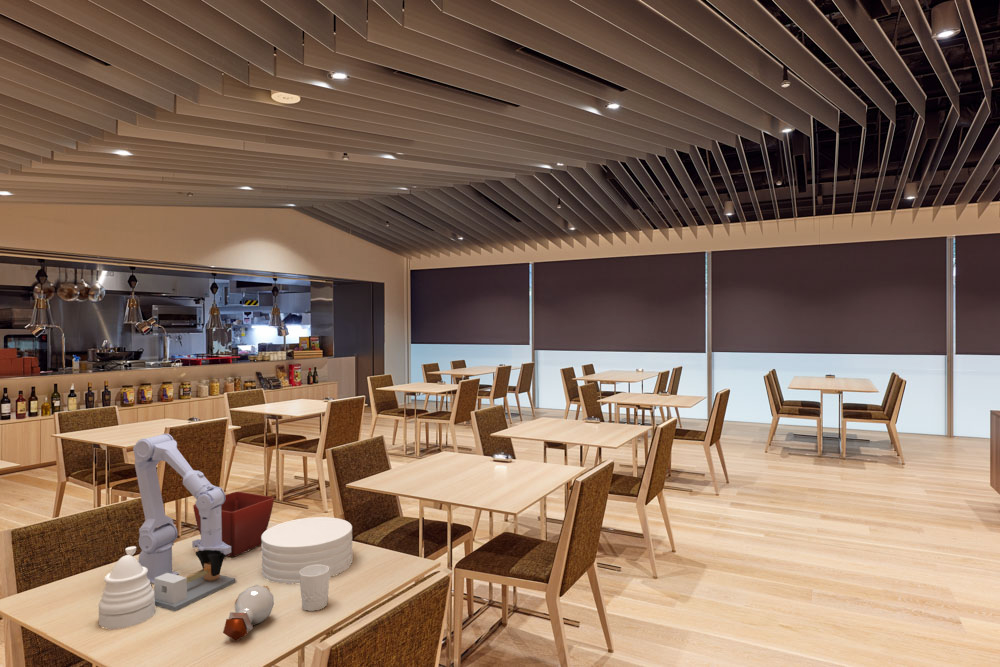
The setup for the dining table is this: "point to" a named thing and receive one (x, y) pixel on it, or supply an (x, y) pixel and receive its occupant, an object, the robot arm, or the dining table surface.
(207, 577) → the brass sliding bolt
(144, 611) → the honey pot
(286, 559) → the plate stack
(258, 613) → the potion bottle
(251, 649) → the dining table surface
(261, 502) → the plant pot
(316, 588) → the white cup
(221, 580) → the block
